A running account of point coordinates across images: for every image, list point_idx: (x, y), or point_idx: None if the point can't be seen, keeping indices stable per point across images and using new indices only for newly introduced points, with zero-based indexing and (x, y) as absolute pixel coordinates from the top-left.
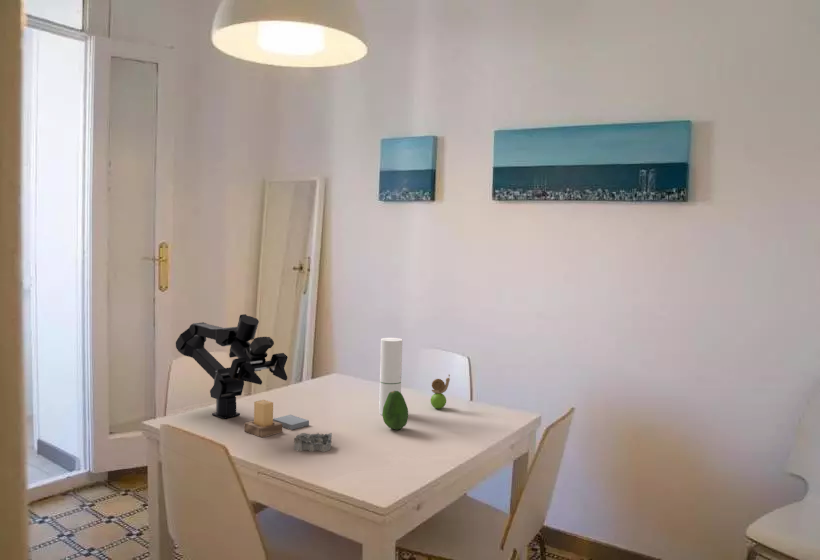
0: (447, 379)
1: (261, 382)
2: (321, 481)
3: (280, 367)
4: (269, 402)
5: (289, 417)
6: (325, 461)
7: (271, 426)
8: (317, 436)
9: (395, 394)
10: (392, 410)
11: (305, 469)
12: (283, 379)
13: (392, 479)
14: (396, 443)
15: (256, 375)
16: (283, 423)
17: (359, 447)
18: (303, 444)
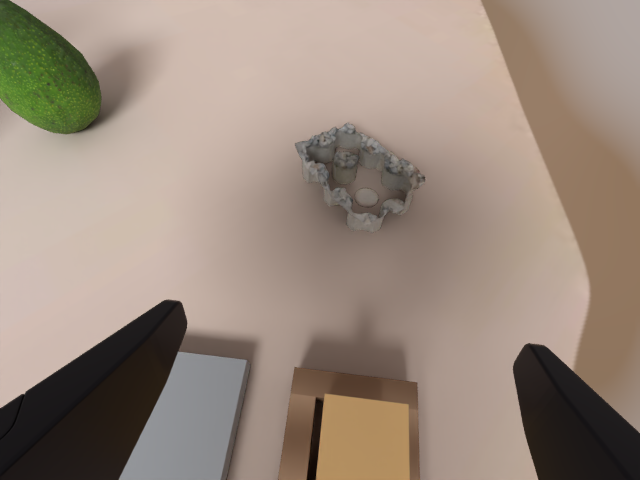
0: None
1: (535, 345)
2: (491, 67)
3: (9, 460)
4: (341, 416)
5: (139, 470)
6: (407, 114)
7: (358, 377)
8: (328, 173)
9: (10, 3)
10: (77, 53)
11: (478, 115)
12: (174, 359)
13: (383, 12)
14: (197, 77)
15: (627, 448)
16: (233, 425)
17: (274, 113)
18: (395, 178)
